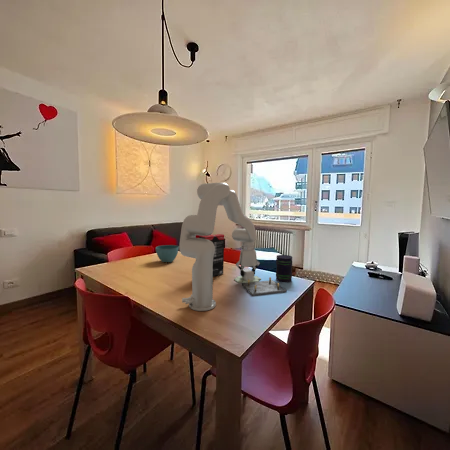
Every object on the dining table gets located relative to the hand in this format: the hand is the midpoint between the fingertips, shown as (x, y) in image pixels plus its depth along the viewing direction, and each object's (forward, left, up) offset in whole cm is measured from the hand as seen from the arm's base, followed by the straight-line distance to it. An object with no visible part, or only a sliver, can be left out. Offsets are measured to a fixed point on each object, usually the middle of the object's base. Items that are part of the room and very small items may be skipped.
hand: (247, 275), depth 143 cm
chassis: (+3, -16, -3) cm, 16 cm away
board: (0, 0, -3) cm, 3 cm away
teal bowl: (-47, +59, -3) cm, 75 cm away
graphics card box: (-20, +14, -3) cm, 25 cm away
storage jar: (+22, -6, -3) cm, 23 cm away
